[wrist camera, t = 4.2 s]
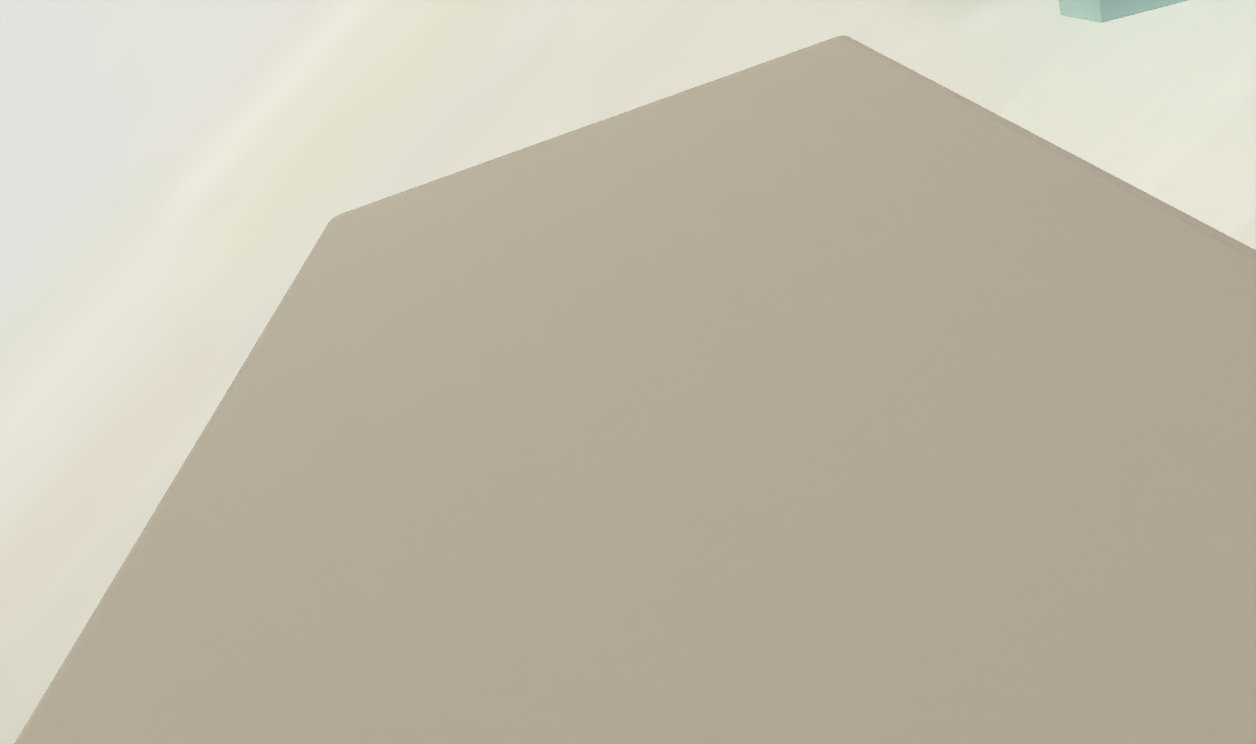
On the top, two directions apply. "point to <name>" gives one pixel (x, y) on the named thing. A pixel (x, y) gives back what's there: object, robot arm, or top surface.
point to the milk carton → (719, 452)
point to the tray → (1109, 8)
